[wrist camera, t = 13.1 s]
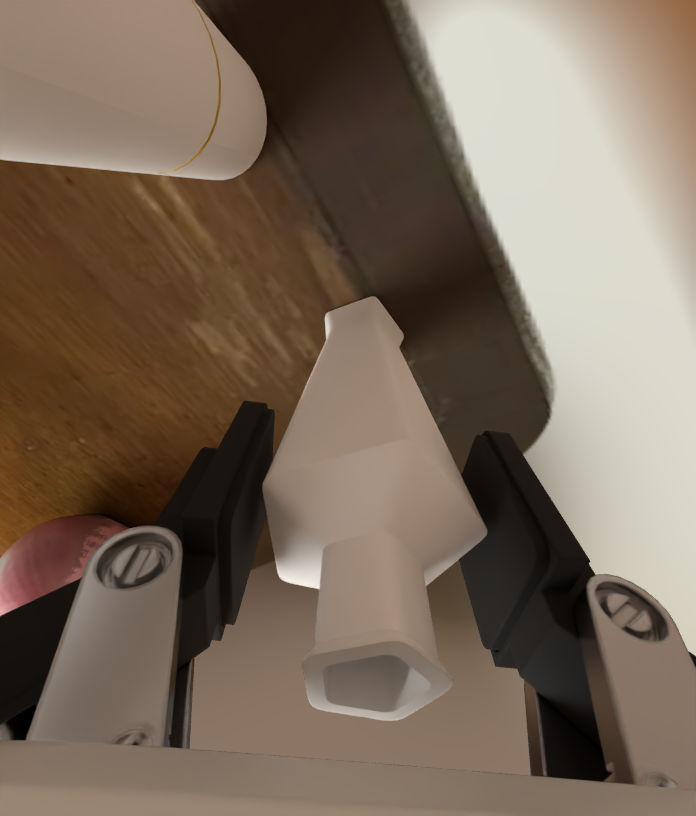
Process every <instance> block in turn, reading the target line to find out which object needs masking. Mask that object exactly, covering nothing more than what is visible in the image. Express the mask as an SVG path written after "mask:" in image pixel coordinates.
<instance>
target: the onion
mask: <svg viewBox="0 0 696 816" xmlns="http://www.w3.org/2000/svg"><path fill="white" fill-rule="evenodd" d="M127 529H129V528H128V527H126V526H124V525H122V524H120V523H118V522H116V521H114V520H112V519H110V518H108V517H106V516H104V515H97V516H93V515H84V516H80V515H76V516H66V517H61V518H57V519H53V520H50V521H47V522H45V523H42V524H40V525H38V526H36V527H34V528H33V529H31V530H30V531H29V532H27V533H26V534H25V535H23V536H22V537H21V538H19V539H18V540H17V541H16V542H15V543H14V544H13V545H12V546H11V547H10V548H9V549H8V550H7V551H6V552H5V553H4V555H3V556H2V557H1V559H0V616H1V615H3V614H5V613H7V612H9V611H11V610H14V609H16V608H18V607H20V606H22V605H24V604H26V603H29V602H31V601H33V600H35V599H37V598H39V597H41V596H44V595H46V594H48V593H50V592H52V591H54V590H56V589H58V588H61V587H63V586H65V585H67V584H69V583H71V582H73V581H76V580H78V579H80V578H82V575H83V572H84V569H85V567H86V564H87V562H88V560H89V559H90V557H91V555H92V553H93V552H94V551H95V550H96V549H97V548H98V547H99V546H100V545H101V544H102V543H103V542H104V541H106V540H107V539H109V538H110V537H112V536H114V535H115V534H117V533H120V532H122V531H125V530H127Z"/></svg>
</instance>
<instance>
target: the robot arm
mask: <svg viewBox="0 0 696 816" xmlns="http://www.w3.org/2000/svg"><path fill="white" fill-rule="evenodd" d="M273 437H274V410H270V409H267V404H266V403H259V402H251V401H244V402H243V403H242V405H241V407H240V409H239V411H238V412H237V414H236V416H235V418H234V420H233V422H232V423H231V425H230V427H229V429H228V431H227V433H226V434H225V436H224V438H223V440H222V442H221V444H220V445H219V447H218V449H215V448H206V447H204V448H202V449H201V450H200V452H199V453H198V455H197V456H196V458H195V460H194V461H193V463H192V465H191V466H190V468H189V469H188V471H187V473H186V474H185V476H184V478H183V479H182V481H181V483H180V484H179V486H178V488H177V489H176V491H175V492H174V494H173V496H172V497H171V499H170V501H169V502H168V504H167V506H166V507H165V509H164V511H163V512H162V514H161V515H160V517H159V519H158V520H157V522H156V524H155V525H154V526H139V527H135V528H130V529H127V530H125V531H122V532H120V533H117V534H115V535H114V536H112V537H110V538H109V539H107V540H106V541H104V542H103V543H102V544H101V545H100V546H99V547H98V548H97V549H96V550H95V551H94V552H93V553H92V555H91V557H90V559H89V560H88V562H87V564H86V567H85V569H84V572H83V575H82V578H80V579H78V580H76V581H73V582H71V583H69V584H67V585H65V586H63V587H61V588H58V589H56V590H54V591H52V592H50V593H48V594H46V595H44V596H41V597H39V598H37V599H35V600H33V601H31V602H29V603H26V604H24V605H22V606H20V607H18V608H16V609H14V610H11V611H9V612H7V613H5V614H3V615H1V616H0V816H696V656H695V655H693V654H692V653H690V652H688V650H687V648H686V646H685V643H684V641H683V640H682V637H681V635H680V633H679V630H678V628H677V626H676V624H675V622H674V621H673V619H672V617H671V616H670V614H669V613H668V611H667V610H666V609H665V608H664V607H663V606H662V605H661V604H660V603H659V601H658V600H656V599H655V598H654V597H653V596H651V595H650V594H649V593H648V592H647V591H645V590H644V589H642V588H640V587H639V586H637V585H636V584H634V583H632V582H630V581H628V580H625V579H623V578H621V577H618V576H613V575H609V574H599V575H595V573H594V572H593V570H592V569H591V567H590V565H589V562H590V560H589V558H588V557H587V555H586V554H585V552H584V551H583V549H582V547H581V546H580V544H579V543H578V541H577V540H576V538H575V536H574V535H573V533H572V532H571V530H570V529H569V527H568V525H567V524H566V522H565V521H564V519H563V517H562V516H561V514H560V513H559V511H558V510H557V508H556V506H555V505H554V503H553V502H552V501H551V498H550V497H549V495H548V494H547V492H546V491H545V489H544V487H543V486H542V485H541V483H540V481H539V480H538V478H537V476H536V475H535V473H534V472H533V470H532V469H531V467H530V465H529V464H528V462H527V461H526V459H525V458H524V456H523V454H522V453H521V451H520V450H519V448H518V447H517V445H516V443H515V442H514V440H513V439H512V437H511V436H510V435H509V434H508V433H502V432H494V431H485V432H484V433H483V434H482V435H477V436H476V437H475V439H474V442H473V445H472V448H471V450H470V453H469V456H468V459H467V462H466V465H465V467H464V470H463V473H462V476H461V477H462V479H463V481H464V483H465V485H466V487H467V489H468V491H469V493H470V495H471V497H472V499H473V501H474V503H475V506H476V508H477V510H478V512H479V514H480V516H481V518H482V520H483V522H484V524H485V526H486V528H487V535H486V536H485V537H484V539H483V540H482V541H481V542H479V543H478V544H477V545H476V546H474V547H473V548H472V549H471V550H469V551H468V552H467V553H466V554H465V555H463V556H462V557H461V558H460V559H459V562H460V565H461V569H462V573H463V576H464V579H465V583H466V587H467V590H468V594H469V597H470V601H471V605H472V608H473V612H474V616H475V619H476V623H477V626H478V630H479V633H480V637H481V641H482V643H483V645H484V647H485V648H486V649H490V650H491V653H492V657H493V660H494V663H495V666H496V667H506V668H515V669H518V672H519V675H520V676H521V677H522V678H523V679H524V692H525V704H526V717H527V730H528V743H529V755H530V767H531V776H528V775H515V774H502V773H491V772H479V771H466V770H453V769H442V768H430V767H417V766H404V765H392V764H380V763H379V764H378V763H367V762H354V761H342V760H328V759H315V758H302V757H289V756H276V755H263V754H250V753H236V752H223V751H210V750H195V749H189V747H190V729H191V728H190V727H191V710H192V691H193V675H194V657H196V656H197V655H198V654H200V653H201V652H203V651H204V650H205V649H207V648H208V647H209V646H210V643H211V640H218V641H221V638H222V635H223V632H224V628H225V625H226V624H231V625H234V624H235V622H236V619H237V616H238V612H239V608H240V605H241V602H242V597H243V594H244V591H245V587H246V584H247V580H248V577H249V573H250V570H251V566H252V563H253V559H254V555H255V552H256V548H257V545H258V541H259V538H260V534H261V531H262V527H263V524H264V520H265V516H266V513H267V512H266V507H265V501H264V496H263V490H262V487H263V482H264V479H265V477H266V475H267V473H268V470H269V468H270V466H271V464H272V460H273Z"/></svg>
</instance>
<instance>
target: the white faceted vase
mask: <svg viewBox="0 0 696 816" xmlns="http://www.w3.org/2000/svg"><path fill="white" fill-rule="evenodd" d="M325 327H326V342H325V344H324V346H323V348H322V351H321V353H320V355H319V357H318V360H317V362H316V364H315V366H314V369H313V371H312V373H311V376H310V378H309V380H308V382H307V385H306V387H305V389H304V391H303V394H302V396H301V398H300V400H299V403H298V405H297V407H296V409H295V412H294V414H293V416H292V418H291V421H290V423H289V425H288V427H287V430H286V432H285V434H284V436H283V439H282V441H281V443H280V446H279V448H278V450H277V452H276V455H275V457H274V459H273V461H272V464H271V466H270V468H269V470H268V473H267V475H266V477H265V479H264V482H263V487H262V490H263V496H264V501H265V507H266V512H267V518H268V523H269V529H270V534H271V539H272V545H273V550H274V556H275V561H276V566H277V572H278V575H279V577H280V578H281V579H282V580H283V581H285V582H288V583H292V584H297V585H302V586H307V587H312V588H317V589H319V598H318V607H317V618H316V628H315V638H314V647H313V648H312V649H311V650H310V651H309V652H308V653H307V654H306V655H305V656H304V658H303V661H302V667H303V673H304V679H305V685H306V691H307V697H308V700H309V702H310V704H311V706H313V707H315V708H316V709H319V710H324V711H328V712H335V713H341V714H347V715H353V716H359V717H366V718H371V719H378V720H386V721H395V720H401V719H403V718H405V717H407V716H409V715H410V714H412V713H413V712H415V711H417V710H419V709H420V708H422V707H423V706H425V705H427V704H428V703H430V702H431V701H433V700H435V699H436V698H438V697H440V696H441V695H443V694H444V693H446V692H447V691H448V690H449V689H451V688H452V685H453V679H452V677H451V676H450V674H449V673H448V672H447V670H446V669H445V668H444V667H443V666H442V665H441V664H440V663H439V658H438V652H437V647H436V641H435V635H434V630H433V624H432V619H431V613H430V607H429V601H428V596H427V590H426V586H427V585H428V584H429V583H430V582H431V581H432V580H434V579H435V578H436V577H438V576H439V575H440V574H441V573H442V572H444V571H445V570H446V569H447V568H449V567H450V566H451V565H452V564H453V563H455V562H456V561H457V560H458V559H460V558H461V557H462V556H463V555H465V554H466V553H467V552H468V551H469V550H471V549H472V548H473V547H474V546H476V545H477V544H478V543H479V542H481V541H482V540H483V539H484V537H485V536H486V535H487V528H486V526H485V524H484V522H483V520H482V518H481V516H480V514H479V512H478V510H477V508H476V506H475V503H474V501H473V499H472V497H471V495H470V493H469V491H468V489H467V487H466V485H465V483H464V481H463V479H462V477H461V475H460V473H459V470H458V468H457V466H456V464H455V462H454V460H453V458H452V456H451V454H450V452H449V450H448V448H447V446H446V444H445V442H444V439H443V437H442V435H441V433H440V431H439V429H438V427H437V425H436V423H435V421H434V419H433V417H432V415H431V413H430V411H429V409H428V406H427V404H426V402H425V400H424V398H423V396H422V394H421V392H420V390H419V388H418V386H417V384H416V382H415V380H414V378H413V376H412V373H411V371H410V369H409V367H408V365H407V363H406V361H405V359H404V357H403V355H402V353H401V351H400V349H399V347H400V345H401V343H402V340H403V338H404V335H403V332H402V331H401V330H400V328H399V327H398V326H397V324H396V323H395V321H394V320H393V319H392V317H391V316H390V315H389V313H388V312H387V310H386V309H385V308H384V306H383V305H382V304H381V302H380V301H379V300H378V299H377V298H376V297H374V296H372V297H368V298H365V299H362V300H360V301H357V302H354V303H351V304H348V305H346V306H343V307H340V308H337V309H334V310H332V311H329V312H328V313H327V314H326V315H325Z"/></svg>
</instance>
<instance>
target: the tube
mask: <svg viewBox="0 0 696 816" xmlns="http://www.w3.org/2000/svg"><path fill="white" fill-rule="evenodd" d="M266 127H267V116H266V106H265V101H264V97H263V93H262V90H261V88H260V85H259V83H258V81H257V78H256V77H255V75H254V73H253V72H252V70H251V68H250V67H249V65H248V64H247V63H246V62H245V61H244V59H243V58H242V57H241V56H240V55H239V53H238V52H237V51H236V50H235V49H234V48H233V46H232V45H231V44H230V43H229V42H228V40H227V39H226V38H225V37H224V36H223V34H222V33H221V32H220V31H219V30H218V29H217V27H216V26H215V25H214V24H213V23H212V21H211V20H210V19H209V18H208V17H207V16H206V14H205V13H204V12H203V11H202V10H201V8H200V7H199V6H198V5H197V4H196V2H195V1H194V0H0V160H9V161H20V162H30V163H41V164H51V165H62V166H72V167H83V168H93V169H104V170H114V171H125V172H135V173H146V174H156V175H167V176H177V177H187V178H198V179H208V180H226V179H231V178H234V177H236V176H238V175H240V174H242V173H244V172H245V171H246V170H247V169H248V168H250V167H251V166H252V164H253V163H254V162H255V160H256V159H257V158H258V156H259V154H260V151H261V149H262V147H263V143H264V140H265V136H266Z"/></svg>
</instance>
